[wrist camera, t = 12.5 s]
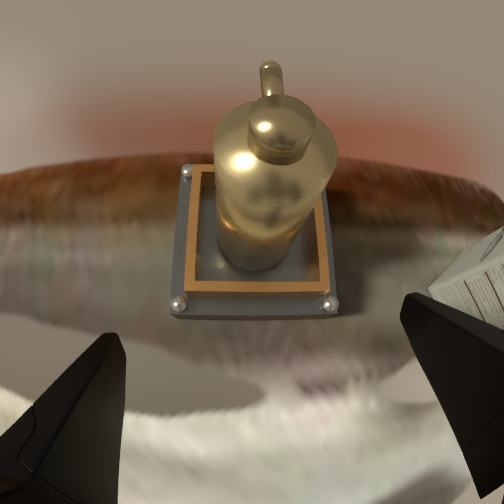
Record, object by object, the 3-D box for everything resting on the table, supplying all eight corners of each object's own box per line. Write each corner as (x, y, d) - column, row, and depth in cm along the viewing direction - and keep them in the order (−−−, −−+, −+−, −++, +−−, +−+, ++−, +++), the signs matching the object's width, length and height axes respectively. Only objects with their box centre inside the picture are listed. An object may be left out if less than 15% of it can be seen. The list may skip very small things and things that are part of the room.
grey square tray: (313, 190, 26) (330, 157, 21) (324, 318, 22) (349, 309, 18) (186, 187, 25) (178, 151, 20) (177, 318, 21) (163, 309, 17)
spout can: (296, 266, 20) (373, 163, 9) (222, 274, 20) (217, 168, 8) (282, 192, 22) (326, 60, 11) (214, 197, 21) (208, 58, 10)
